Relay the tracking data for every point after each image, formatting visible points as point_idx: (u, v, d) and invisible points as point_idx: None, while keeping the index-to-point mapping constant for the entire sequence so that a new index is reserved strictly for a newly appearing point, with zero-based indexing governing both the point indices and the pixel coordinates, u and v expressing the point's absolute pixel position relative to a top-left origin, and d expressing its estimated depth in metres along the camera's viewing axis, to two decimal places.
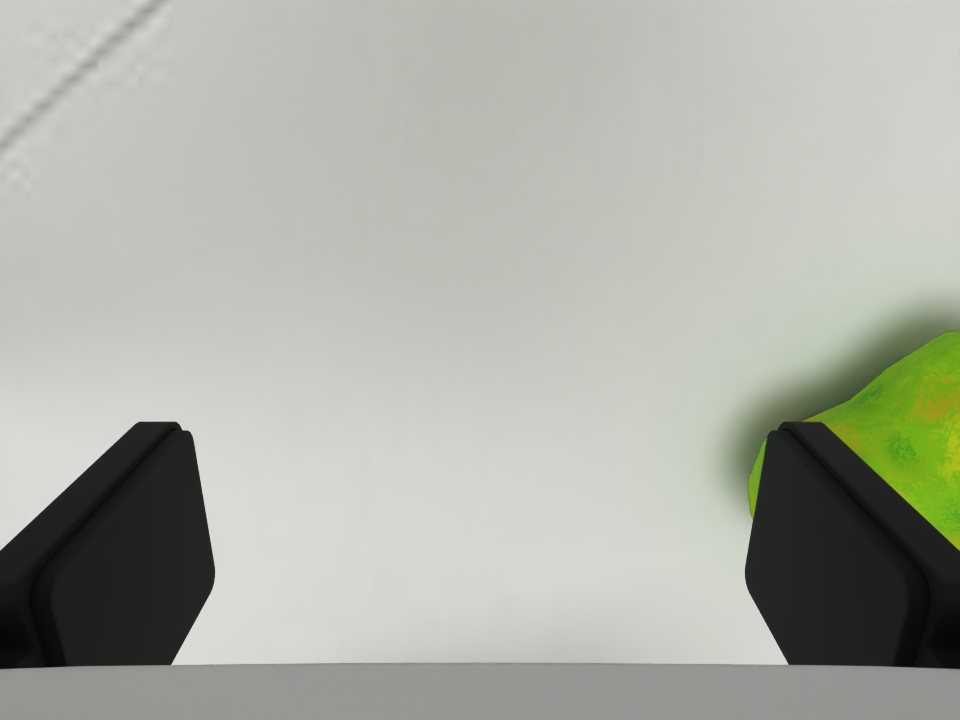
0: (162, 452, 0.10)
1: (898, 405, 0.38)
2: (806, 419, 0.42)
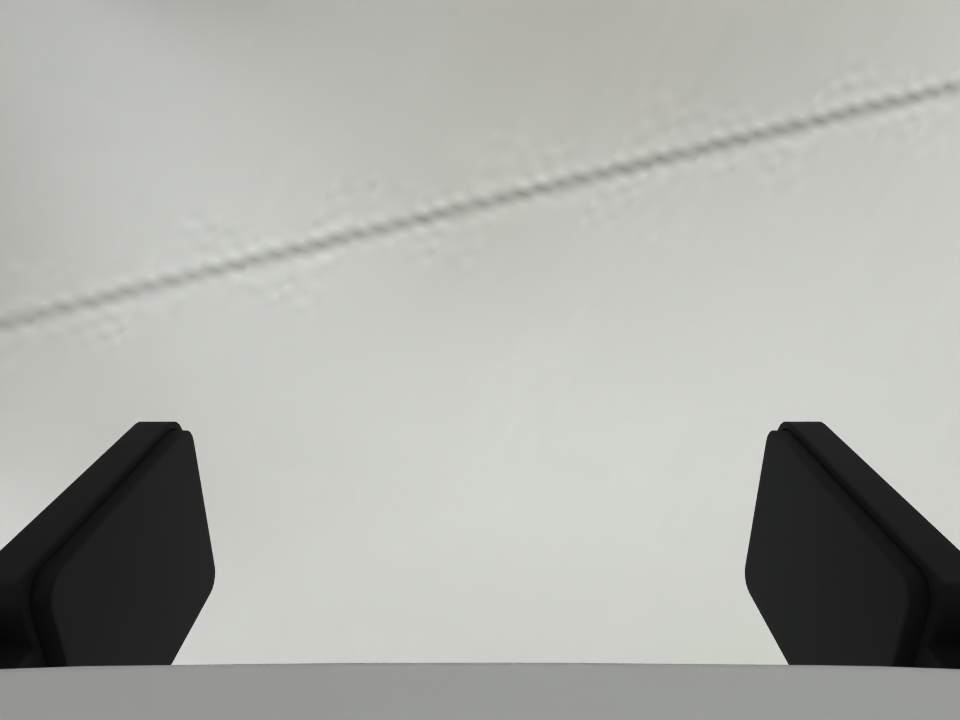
0: (162, 452, 0.10)
1: None
2: None
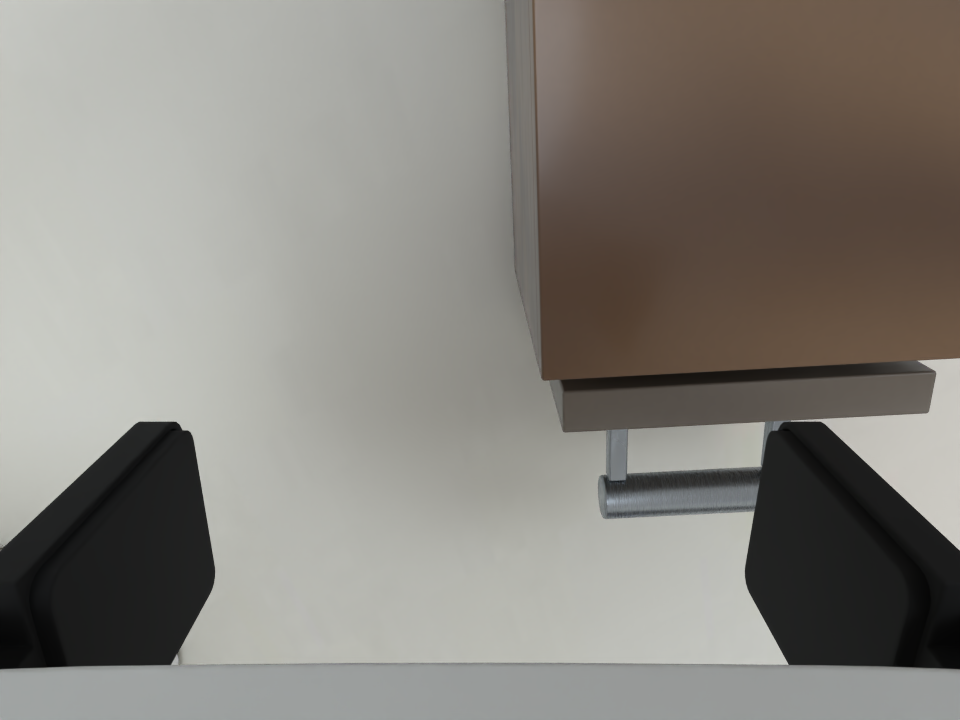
0: (162, 452, 0.10)
1: None
2: None
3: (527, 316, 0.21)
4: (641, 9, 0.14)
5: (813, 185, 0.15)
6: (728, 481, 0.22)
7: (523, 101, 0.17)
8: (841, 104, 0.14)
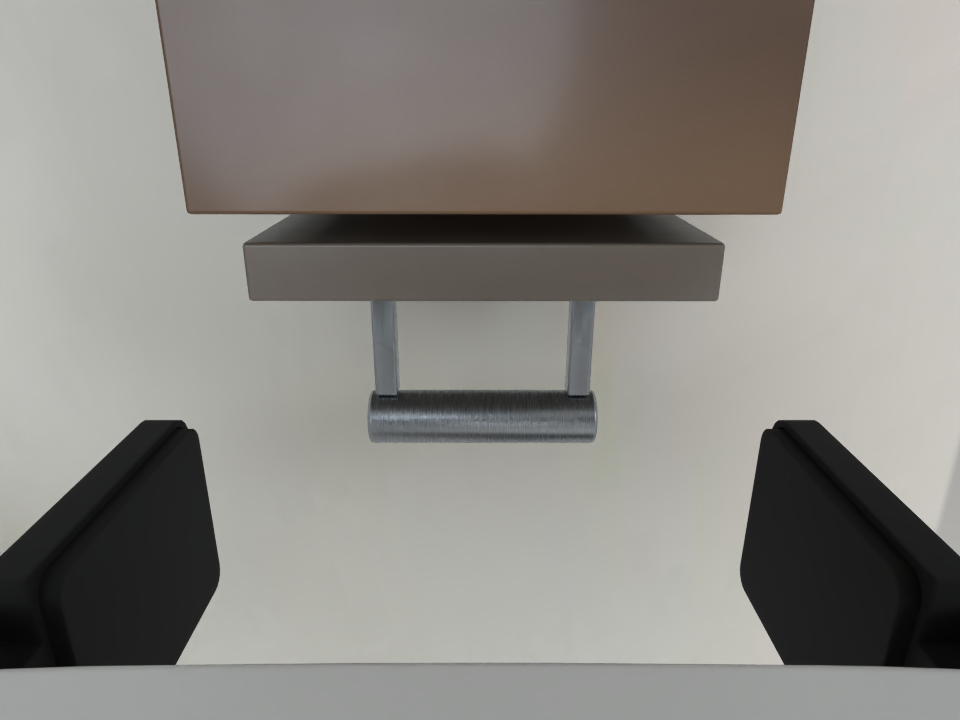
0: (168, 450, 0.10)
1: None
2: None
3: None
4: None
5: None
6: (519, 402, 0.18)
7: None
8: None
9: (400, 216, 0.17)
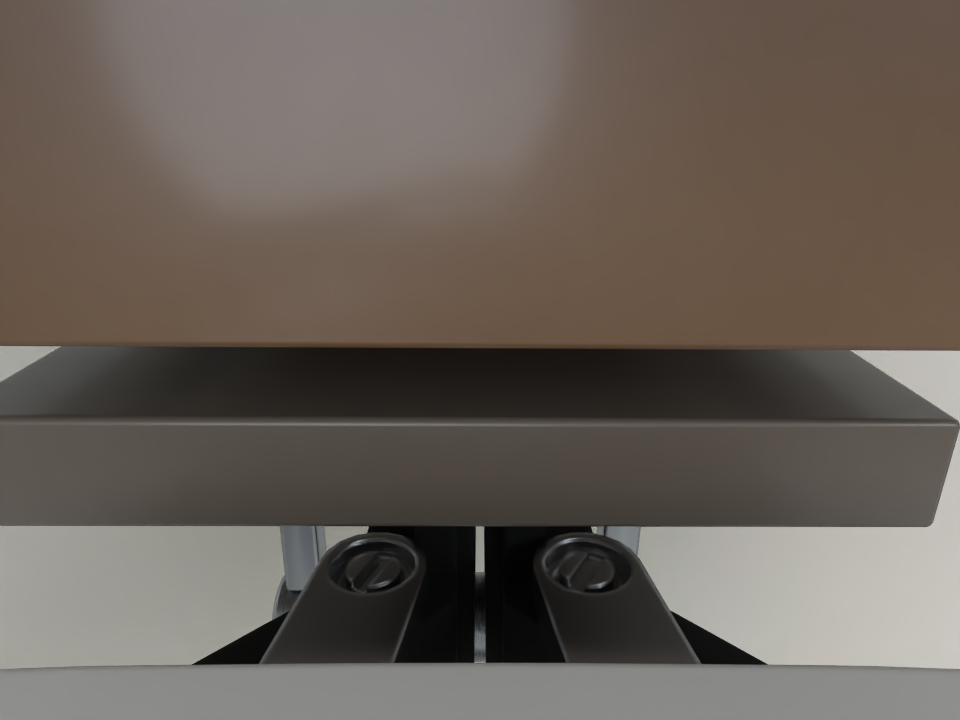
0: None
1: None
2: None
3: None
4: None
5: None
6: None
7: None
8: None
9: None
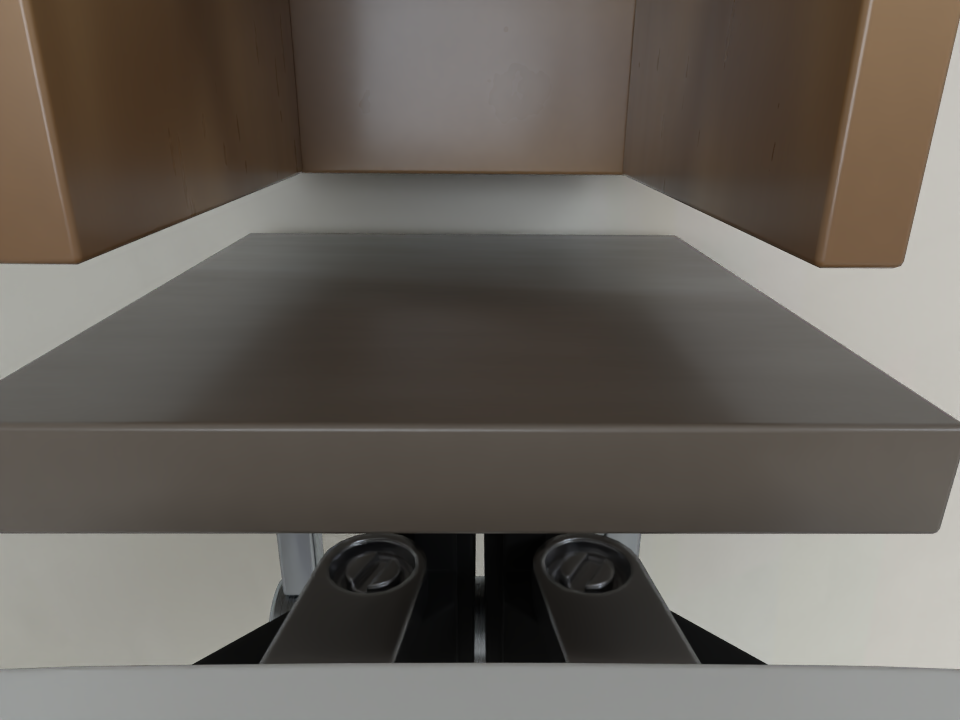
0: None
1: None
2: None
3: None
4: None
5: None
6: None
7: None
8: None
9: (311, 316, 0.09)
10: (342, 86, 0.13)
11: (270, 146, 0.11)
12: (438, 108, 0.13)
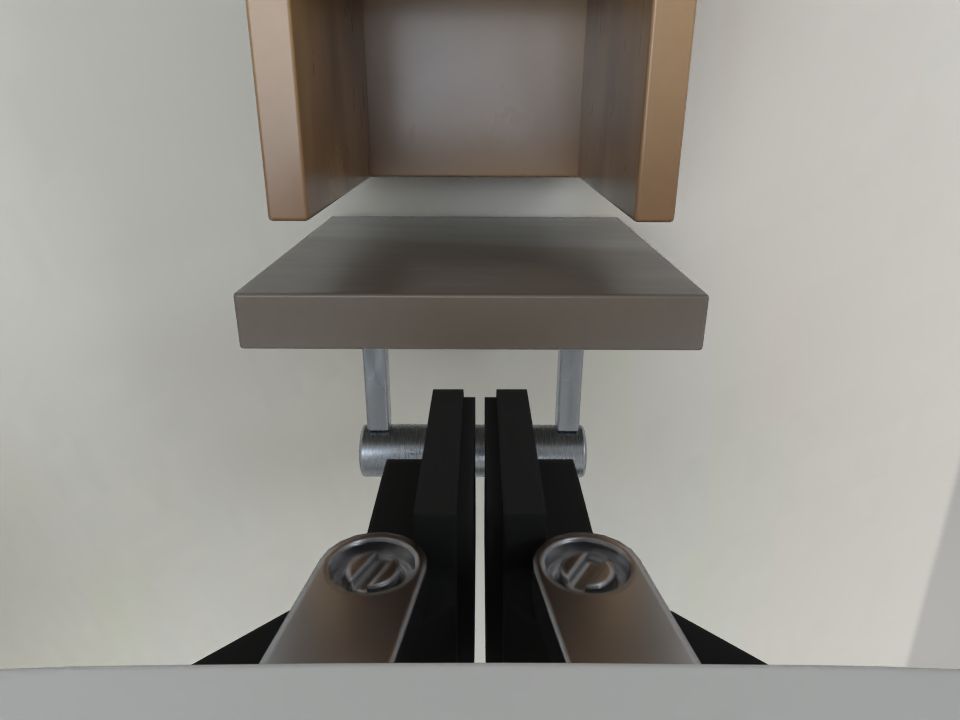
0: (471, 415, 0.11)
1: None
2: None
3: None
4: None
5: None
6: None
7: None
8: None
9: (391, 257, 0.17)
10: (397, 121, 0.21)
11: (359, 161, 0.19)
12: (458, 135, 0.21)
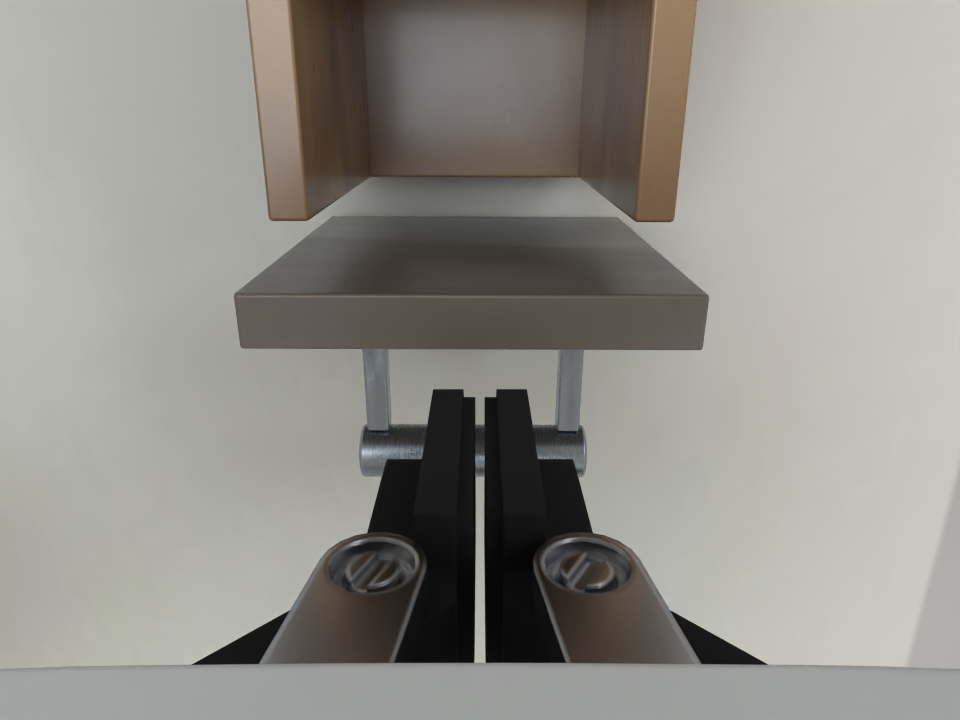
0: (471, 415, 0.11)
1: None
2: None
3: None
4: None
5: None
6: None
7: None
8: None
9: (391, 257, 0.17)
10: (397, 121, 0.21)
11: (359, 161, 0.19)
12: (458, 135, 0.21)
